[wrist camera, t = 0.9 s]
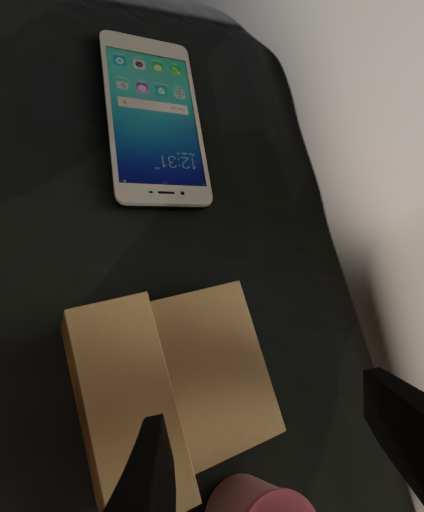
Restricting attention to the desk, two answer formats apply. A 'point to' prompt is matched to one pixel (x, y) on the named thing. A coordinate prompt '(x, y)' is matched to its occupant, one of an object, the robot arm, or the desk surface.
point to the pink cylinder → (254, 497)
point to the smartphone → (152, 124)
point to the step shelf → (169, 382)
